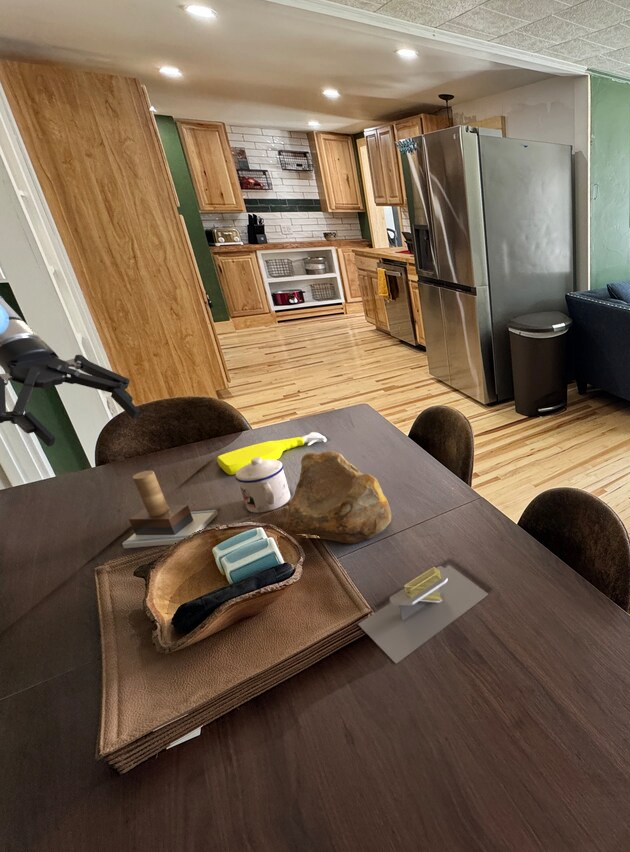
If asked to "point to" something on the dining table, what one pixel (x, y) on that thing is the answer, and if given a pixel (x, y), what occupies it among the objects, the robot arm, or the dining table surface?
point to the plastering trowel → (421, 611)
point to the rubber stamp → (157, 509)
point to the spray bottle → (263, 451)
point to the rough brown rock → (336, 501)
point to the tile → (198, 523)
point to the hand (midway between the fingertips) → (96, 427)
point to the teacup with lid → (263, 485)
